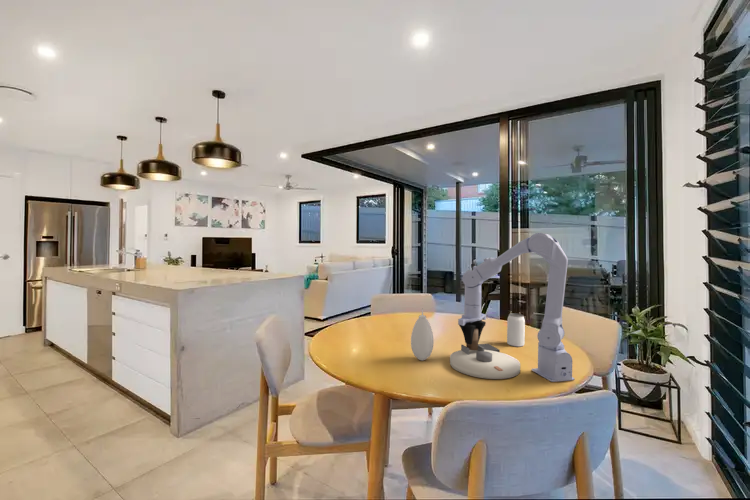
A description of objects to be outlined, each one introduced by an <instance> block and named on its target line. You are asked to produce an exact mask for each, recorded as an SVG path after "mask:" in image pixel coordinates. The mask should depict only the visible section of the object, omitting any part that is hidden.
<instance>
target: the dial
mask: <svg viewBox="0 0 750 500" xmlns="http://www.w3.org/2000/svg"><path fill="white" fill-rule="evenodd" d="M479 344H480V343H478V350H469V348H467V347H466V345H465V344H460V345H461V347H460V349H461V350H457V351H454V352H452V353H450V355H449V365H450V367H451V368H452V369H453V370H455V371H457V372H459V373H461V374H464V375H467V376H471V377H475V378H479V379H486V380H487V379H488V380H503V379H511V378H514V377H516V376H518V375H519V374H520V373H521V362H520V361H519V359H517V358H516V357H513V356H511V355H510V354H507V353H505V352H501V351H500V352H496V351H491V350H484V347H482V346H480V345H479Z"/></svg>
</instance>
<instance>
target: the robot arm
mask: <svg viewBox="0 0 750 500" xmlns="http://www.w3.org/2000/svg"><path fill="white" fill-rule="evenodd" d="M529 253H534V254H536V255H539V256H540V257H541V258H543V260H544V261H545V262H547V263H548V265H549V270H548V280H547V288H546V297H545V298H546V299H545V300H546V301H545V306H544V307H545V308H544V316H543V320H542V323H541V327H540V329H539V331H538V332H537V341H538V342H537V343H538V344H537V345H538V346H537V367H536V368H535V367H534V368H531V371H532V372H534V373H535V374H537V375H539V376H540V377H542V378H543V379H546V380H547V381H550V382H551V383H554V382H566V381H567V382H568V381H574V380H575V377H573V357H572V355H571V354H570V353H569V352H567V350H566V349H565V344H564V343H563V341H562V340H563V339H564V336H565V334H566V332H565V329H564V327H563V310H564V302H565V301H564V300H565V291H566V282H567V273H568V272H567V271H568V264H569V259H568V256H567V255H566V253H565V251H564V250H563V248H562V246H561V245H560V242H559V240H557V239H556V238H555V237H554V236H552V235H551V234H548V233H543V232H535V233H533V234H532V235H531V236H529V237H526V238H524V239H522V240H520V241H519V242H518V243H516V244H514V245H513V246H511V247H510V248H508V249H507V250H506V251H504V252H503V253H502V254H500V255H499V256H496V257H491V256H490V257H486V258H483V261H482V262H481V263H480V264H477V266H476V265H473V266H472V270H471V269H470V270H466V272H465V273H463V275H462V278H461V280H462V283H463V285H464V307H463V308H464V312H463V313H464V314H462V315H461V318H458V319H457V320H458V321H457V322H458V323H457V325H459V327H460V329H461V332H462V334H463V338H464V343H465V344H470V345H471V344H472V340H473V333H474V330H475V328H477V329H478V343H479V342H480V339H481V335H482V332H483V330H484V327H485V326H486V324H487V323H486V320H487V313H486V314H485V313H482V284H484V282H486V281H487V280H489V279H491V278H492V277H493V276H495V275H497V274H498V273H500V272H501V271H502V269H503V266H505V265H506V264H508V263H509V262H511V261H512V260H514V259H516V258H518V257H520V256H521V255H523V254H529ZM483 320H485V321H483Z"/></svg>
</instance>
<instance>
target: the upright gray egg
mask: <svg viewBox="0 0 750 500" xmlns="http://www.w3.org/2000/svg"><path fill="white" fill-rule="evenodd" d="M434 341H435V339H434V333H433V329H432V327H431V324H430V322H429V320H428V319H427V316H426V315H424V309H423V308H422V309H421V315H419V316H418V318H417V319H416V321H415V323H414V325H413V328H412V331H411V335H410V347H411V351H412V354H413V355H414V356H415V357H416V359H417V360H419V361H425V360H427V359H428V358H430V356H431V355H432V352H433V349H434Z"/></svg>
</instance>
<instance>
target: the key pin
mask: <svg viewBox="0 0 750 500" xmlns="http://www.w3.org/2000/svg"><path fill="white" fill-rule="evenodd" d="M465 344H466V343H465ZM478 344H479V342H478V329H477V328H475V330H474V333H473V340H472V344H471V345H470V344H466V345H465V346H466V347H467V348H469V350H478Z"/></svg>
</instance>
